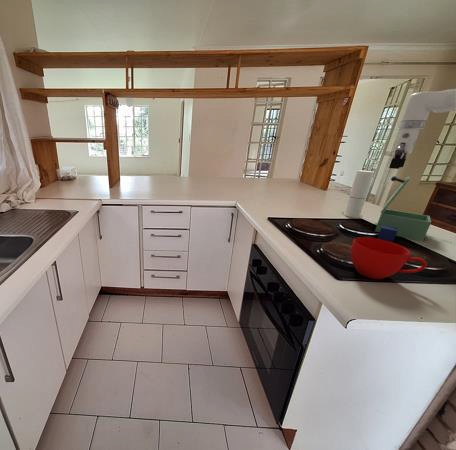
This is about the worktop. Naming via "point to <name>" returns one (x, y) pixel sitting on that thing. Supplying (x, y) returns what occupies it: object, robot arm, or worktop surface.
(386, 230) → the blue cube
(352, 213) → the cylindrical container
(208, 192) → the worktop surface
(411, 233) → the green rectangular box
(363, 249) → the ceramic cup
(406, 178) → the lid
